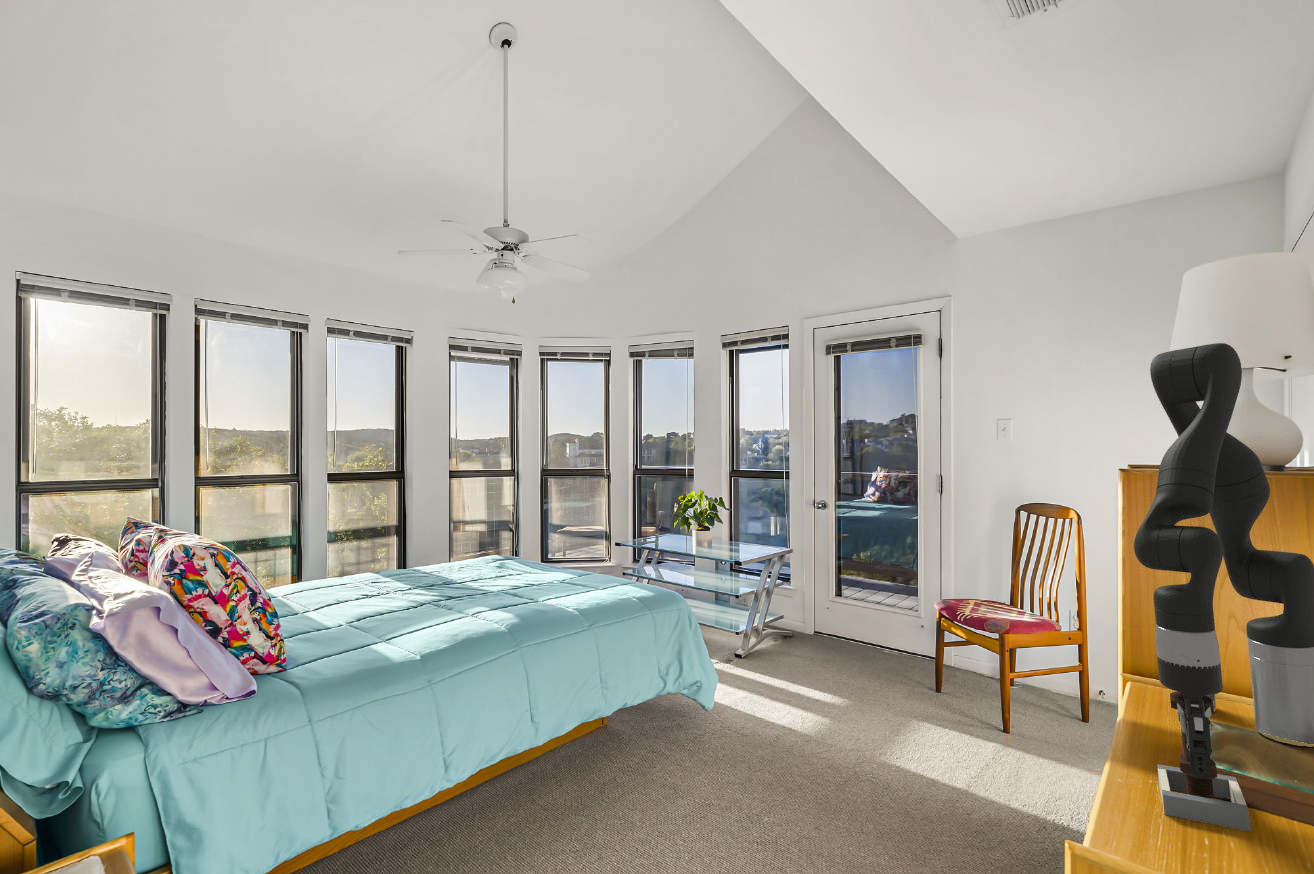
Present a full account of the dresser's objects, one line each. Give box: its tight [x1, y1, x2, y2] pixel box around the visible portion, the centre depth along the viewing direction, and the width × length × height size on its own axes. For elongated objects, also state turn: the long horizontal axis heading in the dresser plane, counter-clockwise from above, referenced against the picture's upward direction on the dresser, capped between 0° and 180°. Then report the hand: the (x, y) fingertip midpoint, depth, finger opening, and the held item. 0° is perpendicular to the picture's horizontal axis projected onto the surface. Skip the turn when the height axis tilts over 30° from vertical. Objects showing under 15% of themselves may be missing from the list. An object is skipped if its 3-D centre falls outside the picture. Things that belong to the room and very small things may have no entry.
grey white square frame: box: [1156, 763, 1252, 833], centre depth 98 cm, size 10×10×3 cm
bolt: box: [1169, 691, 1218, 799], centre depth 98 cm, size 6×5×15 cm
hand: (1198, 767), depth 98 cm, fingers closed on bolt, 4 cm apart
